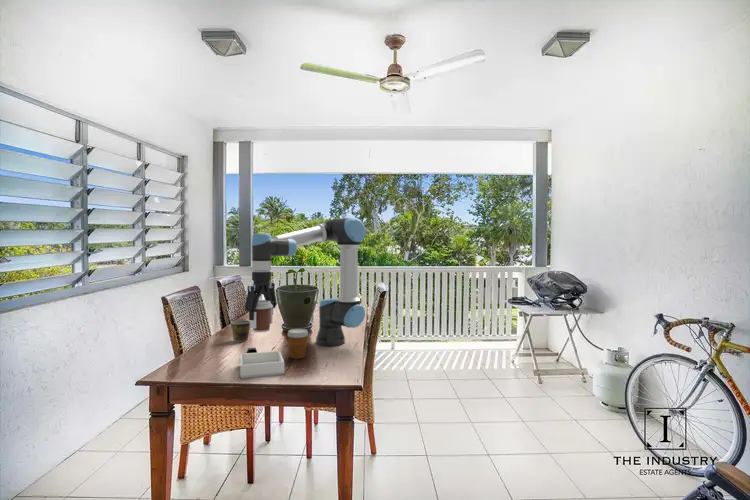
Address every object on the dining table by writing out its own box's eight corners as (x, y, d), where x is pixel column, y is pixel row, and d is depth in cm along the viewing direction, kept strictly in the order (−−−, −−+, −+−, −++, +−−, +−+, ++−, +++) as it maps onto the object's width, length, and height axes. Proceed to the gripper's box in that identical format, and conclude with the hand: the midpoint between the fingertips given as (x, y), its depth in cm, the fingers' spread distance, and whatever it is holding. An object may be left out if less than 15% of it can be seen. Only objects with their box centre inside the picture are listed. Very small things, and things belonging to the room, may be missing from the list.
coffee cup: (273, 332, 162) (273, 302, 161) (249, 333, 159) (249, 303, 159) (272, 327, 170) (272, 299, 170) (250, 328, 168) (250, 300, 167)
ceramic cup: (236, 338, 217) (236, 319, 216) (253, 339, 215) (253, 320, 215) (224, 344, 204) (224, 324, 204) (242, 345, 202) (242, 325, 202)
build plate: (237, 362, 177) (237, 352, 177) (237, 357, 183) (236, 347, 183) (266, 359, 181) (266, 349, 181) (264, 354, 188) (264, 345, 188)
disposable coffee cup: (283, 358, 181) (283, 332, 181) (294, 352, 190) (294, 327, 190) (301, 360, 178) (301, 333, 177) (312, 355, 187) (312, 329, 186)
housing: (279, 362, 176) (279, 350, 175) (284, 374, 160) (284, 361, 160) (239, 365, 170) (239, 354, 170) (240, 378, 154) (240, 365, 154)
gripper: (272, 269, 175) (271, 320, 176) (234, 272, 156) (234, 329, 156) (285, 269, 172) (285, 321, 173) (249, 273, 152) (249, 332, 153)
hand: (261, 325), depth 165 cm, fingers closed on coffee cup, 9 cm apart
